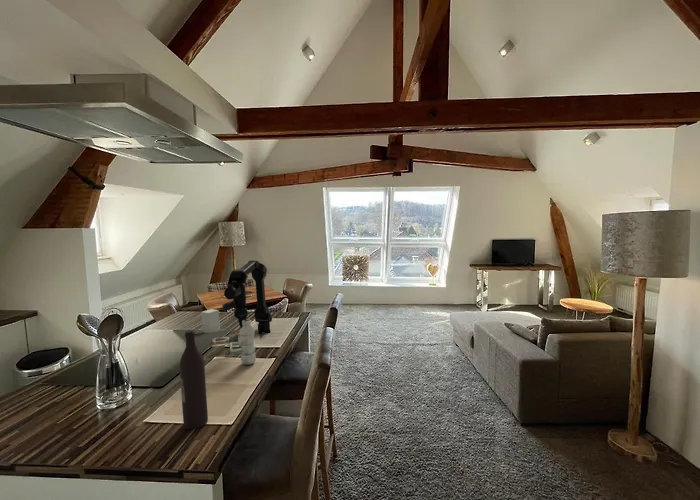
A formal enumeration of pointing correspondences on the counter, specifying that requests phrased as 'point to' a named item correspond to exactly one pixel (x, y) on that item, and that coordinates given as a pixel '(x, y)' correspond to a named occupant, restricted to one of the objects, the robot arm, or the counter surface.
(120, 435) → the counter surface
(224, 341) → the pulley board
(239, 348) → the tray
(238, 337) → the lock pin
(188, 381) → the wine bottle
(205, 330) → the supplement box
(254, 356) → the plastic bottle
